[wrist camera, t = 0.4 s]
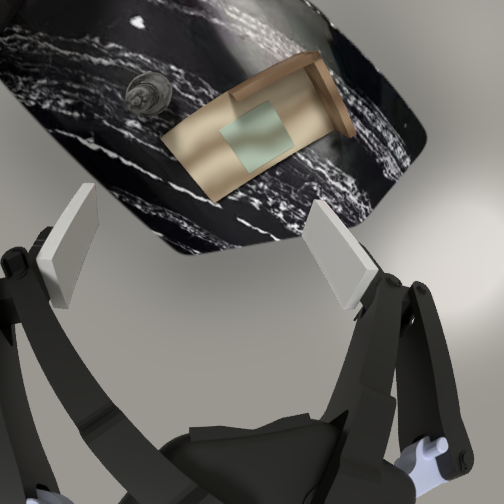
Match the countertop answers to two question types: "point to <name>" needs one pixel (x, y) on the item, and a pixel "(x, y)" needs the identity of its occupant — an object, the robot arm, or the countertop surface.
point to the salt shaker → (148, 94)
